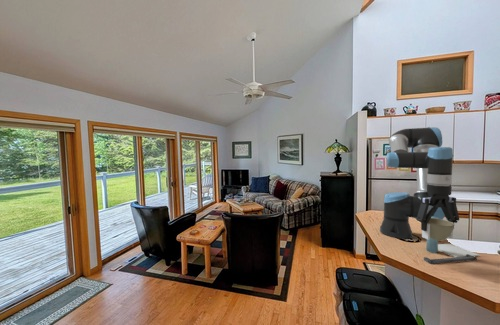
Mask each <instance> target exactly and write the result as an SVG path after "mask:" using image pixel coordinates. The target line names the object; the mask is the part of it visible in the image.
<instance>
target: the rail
mask: <svg viewBox="0 0 500 325" xmlns="http://www.w3.org/2000/svg"><path fill="white" fill-rule="evenodd" d="M466 256H467V257H457V258H455V257H445V258H433V259H431V258H429V257H426V256H425V257H423V261H424V262H426V263H428V264H430V265H433V264H435V265H436V264H445V263H447V264H448V263H449V264H450V263H460V262H461V263H462V262H471V261H472V262H474V261H477V259H478V258H477V257H474V256H472V255H469V254H466Z"/></svg>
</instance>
